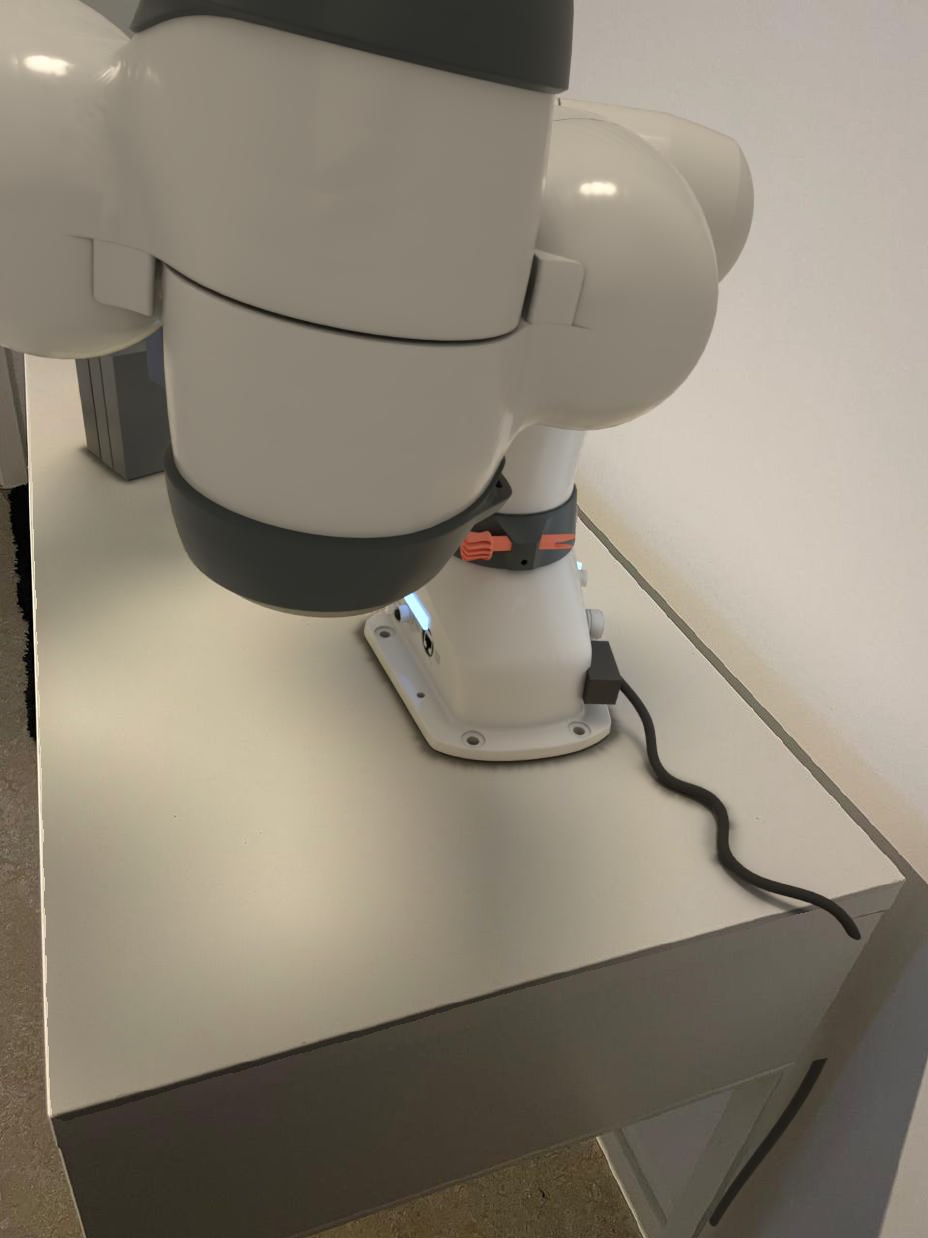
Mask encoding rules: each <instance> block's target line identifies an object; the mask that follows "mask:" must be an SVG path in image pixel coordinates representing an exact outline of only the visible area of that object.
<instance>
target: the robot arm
mask: <svg viewBox="0 0 928 1238" xmlns="http://www.w3.org/2000/svg"><path fill="white" fill-rule="evenodd" d="M574 18H575V0H139V2H138V4H137V7H136V10H135V12H134V15H133V17H132V20H131V22H130V25H129V26H128V30H130V31H131V32H132V33H133V36H132V37H131V38H130V37H129V36H128V35H127V34H126V33H124V31H122V29H120V28H119V27H118V26H116V25H115V24H114V23H113V22H112V21H111V20H109V19H108V18H106V17H105V16H104V15H102V14H101V13H100V12H98V11H96V10H95V9H93V8H92V7H90V6H89V5H87V4H86V3H84V2H82V1H80V0H0V347H4V348H6V349H10V350H12V351H15V352H18V353H20V354H25V355H30V356H34V357H38V358H43V359H52V360H63V361H64V360H75V359H87V358H94V357H100V356H105V355H108V354H111V353H115V352H118V351H121V350H124V349H126V348H128V347H130V346H132V345H135V344H137V343H139V342H140V341H142V340H144V339H145V338H147V337H148V336H150V335H151V334H153V333H154V332H155V331H157V330H158V329H159V328H160V327H161V326H162V325H163V349H164V371H165V384H166V396H167V408H168V418H169V426H170V434H171V440H170V441H169V442H168V444H167V445H166V447H165V450H164V453H163V466H164V470H163V471H164V472H163V473H164V479H165V485H166V492H167V497H168V501H169V506H170V510H171V514H172V517H173V521H174V525H175V528H176V531H177V534H178V537H179V539H180V542H181V544H182V546H183V549H184V551H185V553H186V555H187V557H188V559H189V560H190V562H192V564H193V565H194V567H196V568H197V569H198V571H199V572H201V573H202V574H203V575H204V576H206V578H208V579H209V580H211V581H212V582H214V583H215V584H217V585H218V586H220V587H222V588H224V589H226V590H227V591H229V592H231V593H233V594H235V595H236V596H238V597H240V598H242V599H244V600H246V601H248V602H250V603H252V604H255V605H258V606H260V607H262V608H266V609H269V610H272V611H276V612H279V613H283V614H289V615H294V616H299V617H300V616H301V617H307V618H321V619H322V618H325V619H335V618H338V619H339V618H350V617H355V616H361V615H366V614H370V613H373V612H375V611H378V610H380V611H378V612H377V613H374V614H373V615H371V616H370V617H369V618H367V620H366V621H365V625H364V629H363V635H364V637H365V639H366V641H367V643H368V644H369V646H370V648H371V650H372V651H373V653H374V655H375V656H376V658H377V659H378V662H379V664H381V666H382V668H383V670H384V671H385V674H387V677H388V678H389V680H390V682H391V683H392V685H393V687H394V689H395V690H396V692H397V693H398V695H399V697H400V698H401V700H402V702H403V703H404V705H405V707H406V709H407V710H408V712H409V714H410V715H411V717H412V719H413V720H414V722H415V724H416V725H417V727H418V729H419V731H420V732H421V734H422V736H423V737H424V739H425V741H426V742H427V744H428V745H429V746H430V747H431V748H432V749H433V750H435V751H437V752H439V753H443V754H446V755H448V756H452V757H455V758H461V759H467V760H476V761H486V762H487V761H488V762H515V761H528V760H539V759H544V758H553V757H558V756H563V755H569V754H572V753H575V752H579V751H582V750H585V749H587V748H589V747H591V746H593V745H595V744H597V743H599V742H601V741H602V740H603V739H604V738H606V737H607V736H608V735H609V734H610V732H611V726H612V717H611V715H610V711H609V705H611V706H614V705H616V703H617V701H618V697H619V694H620V692H621V693H622V694H623V695H624V696H625V698H626V699H627V701H629V703H630V704H631V705H632V707H633V709H635V711H636V713H637V715H638V716H639V719H640V721H641V723H642V726H643V730H644V736H645V746H646V753H647V759H648V762H649V764H650V767H651V768H652V771H653V772H654V773H655V775H656V777H658V778H659V779H660V781H662V782H663V783H665V785H667V786H669V787H670V788H673V789H674V790H677V791H679V792H683V793H684V794H685V793H686V794H688V795H691V796H694V797H697V798H699V799H701V800H703V801H704V802H706V803H707V804H708V805H709V806H710V807H711V808H712V809H713V811H714V813H715V814H716V817H717V835H716V836H717V841H716V842H717V848H718V852H719V856H720V858H721V861H722V862H723V863H724V864H725V865H726V867H727V868H728V869H729V870H730V871H731V872H732V873H733V874H734V875H736V877H738V879H741V880H743V881H744V882H746V883H747V884H749V885H752V886H753V887H756V889H757V888H758V889H761V890H764V891H766V892H768V893H772V894H776V895H778V896H783V897H786V898H791V899H794V900H798V901H801V902H803V903H808V904H811V905H813V906H816V907H817V908H820V909H822V910H824V911H826V912H827V913H829V915H832V916H833V917H834V919H836V920H837V922H839V924H840V925H841V927H842V928H843V930H844V931H845V933H846V934H847V936H848V937H849V938H851V939H853V940H855V941H860V940H861V939H862V935H861V933H860V930H859V928H858V926H857V925H856V923H855V921H854V920H853V918H852V917H851V916H850V915H849V914H848V913H847V911H845V909H844V908H843V907H841V906H840V905H838V904H837V903H836V902H835V901H833V900H832V899H829V897H826V896H824V895H823V894H819V893H818V892H814V891H812V890H808V889H805V888H803V887H802V888H801V887H798V886H795V885H791V884H788V883H787V884H786V883H783V882H779V881H775V880H772V879H769V878H767V877H764V876H762V875H759V874H757V873H755V872H753V871H751V869H748V868H747V867H745V866H744V865H743V864H742V863H740V862H739V860H737V858H736V857H735V856H734V854H733V852H732V850H731V848H730V841H729V839H730V837H729V836H730V819H729V813H728V811H727V808H726V807H725V805H724V803H723V802H722V800H721V799H720V798H719V797H718V796H717V795H716V794H715V793H713V792H712V791H710V790H708V789H706V788H704V787H702V786H700V785H697V784H693V783H690V782H688V781H685V780H681V779H679V778H677V777H676V776H674V775H672V774H671V773H670V772H669V771H667V769H666V768H665V766H663V763H662V762H661V758H660V756H659V753H658V744H657V736H656V729H655V724H654V721H653V719H652V716H651V714H650V712H649V711H648V708H647V706H646V705H645V704H644V702H643V701H642V699H641V698H640V696H639V695H638V694H637V693H636V692H635V691H634V689H633V688H632V687H631V685H630V684H629V683H628V682H627V681H626V680H625V678H623V676H622V675H621V673H620V669H619V667H618V664H617V661H616V659H615V655H614V653H613V650H612V647H611V644H610V641H608V640H599V639H601V638H602V637H603V634H604V629H605V616H604V613H603V611H602V610H600V609H597V608H596V609H595V608H586V604H585V599H584V593H583V588H585V587H586V586H587V585H588V580H589V575H588V571H587V570H586V569H583V568H582V565H583V563H582V562H579V561H578V560H577V554H576V550H575V543H576V533H577V531H576V530H577V523H578V516H579V515H578V514H579V508H578V488H577V485H576V483H575V481H576V477H577V473H578V469H579V464H580V461H581V455H582V453H583V448H584V444H585V441H586V437H587V433H588V431H600V430H604V429H609V428H614V427H619V426H621V425H624V424H626V423H631V422H632V421H635V420H637V419H639V418H642V417H643V416H645V415H646V414H648V413H650V412H652V411H653V410H654V409H657V408H658V407H659V406H661V405H662V404H663V403H664V402H665V401H667V400H668V399H669V398H671V396H672V395H674V394H675V393H676V391H678V390H679V389H680V387H681V386H683V384H684V383H685V382H686V381H687V379H688V378H689V377H690V376H691V374H692V372H693V371H694V369H695V368H696V367H697V365H698V364H699V361H700V360H701V358H702V356H703V355H704V352H705V350H706V348H707V346H708V343H709V340H710V338H711V335H712V333H713V330H714V325H715V320H716V317H717V313H718V306H719V305H718V304H719V293H720V291H719V290H720V289H719V288H720V287H719V285H720V283H722V282H723V281H724V280H725V278H726V277H727V275H729V274H730V272H731V271H732V269H733V267H734V266H735V265H736V263H737V262H738V261H739V258H740V256H741V254H742V252H743V250H744V248H745V246H746V244H747V241H748V238H749V235H750V232H751V227H752V224H753V219H754V218H753V217H754V211H755V210H754V209H755V190H754V182H753V177H752V173H751V169H750V166H749V163H748V161H747V158H746V155H745V154H744V152H743V149H742V147H741V146H740V145H739V143H738V141H737V140H736V139H735V138H734V137H731V136H729V135H726V134H724V133H722V132H719V131H718V130H714V129H712V128H710V127H707V126H705V125H703V124H701V123H698V122H694V121H692V120H689V119H686V118H683V117H681V116H678V115H675V114H672V113H669V112H668V111H667V112H666V111H660V110H653V109H648V108H647V109H646V108H639V107H631V106H624V105H617V104H609V103H604V102H595V101H588V100H580V99H573V98H567V97H566V98H565V97H560V96H559V97H557V96H556V95H560V94H563V93H565V92H567V91H568V90H570V89H569V86H570V77H571V68H572V67H571V66H572V56H573V55H572V54H573V39H574V38H573V37H574V21H575V20H574ZM383 608H384V609H383ZM381 609H382V610H381ZM828 1058H829V1057H824V1058H820V1059H816V1060H812V1061H811V1063H810V1066H809V1068H808V1070H807V1072H806V1074H805V1075H804V1077H803V1079H802V1080H801V1083H800V1084H799V1087H798V1089H797V1090H796V1091H795V1093H794V1095H793V1096H792V1098H791V1099H790V1101H789V1103H788V1104H787V1106H786V1107H785V1109H784V1111H782V1113H781V1115H780V1116H779V1117H778V1119H777V1121H775V1124H774V1125H773V1126H772V1128H771V1129H770V1130H769V1132H768V1133H767V1134H766V1136H765V1137H764V1139H763V1140H762V1142H761V1143H760V1144H759V1145H758V1147H757V1148H756V1150H755V1151H754V1153H753V1154H752V1155H751V1157H749V1158H748V1161H747V1162H746V1163H745V1164H744V1166H743V1167H742V1169H741V1170H740V1171H739V1173H738V1174H737V1175H736V1177H735V1178H734V1179H733V1181H732V1182H731V1183H730V1185H729V1187H728V1188H727V1190H726V1191H725V1193H724V1194H723V1196H722V1197H721V1199H720V1200H719V1202H718V1203H717V1205H716V1206H715V1208H714V1210H713V1212H712V1214H711V1215H710V1217H709V1219H708V1222H709V1225H710V1226H711V1227H717V1226H718V1225H719V1223H720V1221H721V1220H722V1218H723V1217H724V1215H725V1213H726V1212H727V1210H728V1208H729V1207H730V1206H731V1205H732V1203H733V1201H734V1199H736V1197H737V1196H738V1194H739V1193H740V1191H741V1190H742V1188H743V1187H744V1186H745V1185H746V1183H747V1182H748V1180H750V1178H751V1176H752V1175H753V1174H754V1172H755V1171H756V1170H757V1168H758V1167H759V1166H760V1165H761V1163H762V1162H763V1161H764V1160H765V1158H766V1157H767V1156H768V1154H769V1153H770V1152H771V1150H772V1149H773V1147H774V1146H775V1145H776V1144H777V1142H778V1141H779V1139H780V1138H781V1137H782V1136H783V1134H784V1133H785V1131H786V1130H787V1129H788V1127H789V1126H790V1124H791V1123H792V1122H793V1120H794V1119H795V1117H796V1116H797V1114H798V1112H799V1111H800V1110H801V1108H802V1106H803V1105H804V1104H805V1102H806V1100H807V1098H808V1097H809V1095H810V1093H811V1092H812V1090H813V1088H814V1087H815V1085H816V1083H817V1081H818V1079H819V1077H820V1076H821V1073H822V1072H823V1069H824V1067H825V1065H826V1063H827V1061H828V1060H829V1059H828Z"/></svg>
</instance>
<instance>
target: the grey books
mask: <svg viewBox="0 0 928 1238" xmlns="http://www.w3.org/2000/svg"><path fill="white" fill-rule="evenodd" d="M74 362H75V369H76V376H77V384H78V390H79V391H78V393H79V398H80V406H81V411H82V412H81V413H82V419H83V427H84V434H85V440H86V449H87V450H88V451H89V452H90V453H91V454H93V455H94V456H96V458H98V459H99V460H100V461H102V463H104V464H105V465H107V466H108V467H109V468H111V469H112V470H113V471H114V472H115V473H117V475H120V476H121V477H122V478H123V479H125V480H126V481H130V480H133V479H138V478H141V477H145V476H149V475H151V474H156V473H158V472H159V473H160V472H163V471H164V466H163V453H164V450H165V447H166V445H167V444H168V442H169V441H170V440H171V434H170V426H169V418H168V408H167V396H166V389H164V388H163V387H161V386H160V385H158V384H157V383H155V382H154V381H152V380H151V379H149V375H148V365H147V354H146V343H145V339H144V340H142V341H140V342H139V343H137V344H135V345H132V346H130V347H128V348H126V349H124V350H121V351H118V352H115V353H111V354H108V355H105V356H100V357H94V358H87V359H74Z"/></svg>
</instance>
